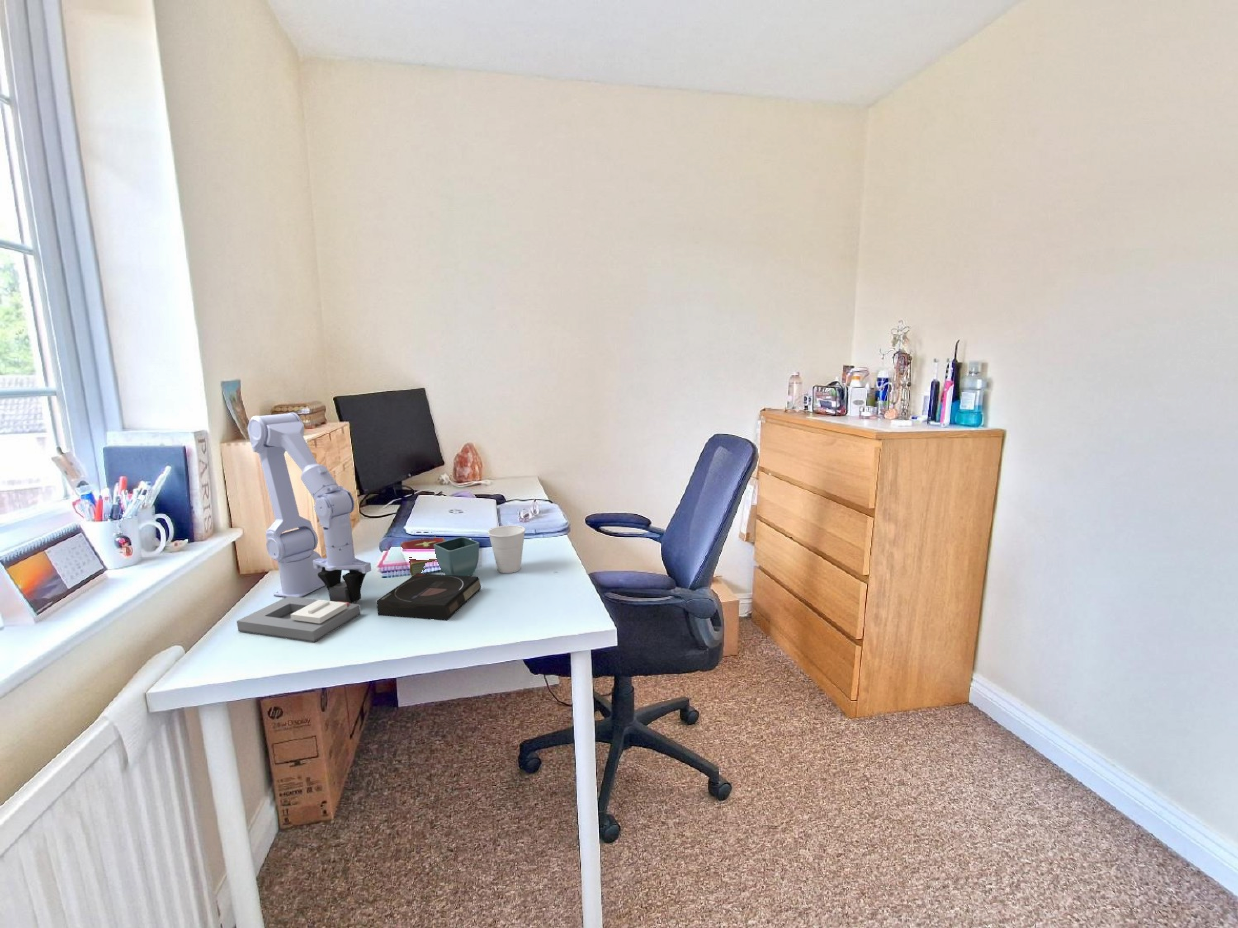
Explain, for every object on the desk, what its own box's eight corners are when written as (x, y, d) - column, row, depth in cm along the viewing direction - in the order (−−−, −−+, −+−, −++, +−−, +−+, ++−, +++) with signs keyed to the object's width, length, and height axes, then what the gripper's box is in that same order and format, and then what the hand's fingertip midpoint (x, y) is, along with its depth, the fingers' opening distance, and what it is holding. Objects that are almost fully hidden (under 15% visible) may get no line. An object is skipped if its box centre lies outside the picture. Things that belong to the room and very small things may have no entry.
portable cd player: (448, 622, 120) (447, 605, 120) (378, 617, 124) (376, 600, 123) (481, 592, 136) (480, 576, 136) (418, 588, 140) (417, 573, 139)
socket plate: (289, 605, 130) (288, 593, 129) (360, 614, 124) (359, 601, 124) (238, 631, 118) (236, 618, 117) (314, 642, 112) (312, 628, 112)
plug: (345, 599, 132) (343, 579, 132) (361, 601, 131) (359, 581, 130) (330, 608, 128) (328, 587, 127) (347, 610, 127) (344, 588, 126)
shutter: (319, 604, 124) (318, 597, 123) (347, 607, 122) (346, 600, 121) (291, 619, 117) (290, 611, 116) (320, 623, 114) (319, 615, 114)
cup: (495, 563, 154) (493, 525, 152) (531, 562, 154) (528, 524, 152) (485, 576, 145) (483, 536, 143) (523, 576, 144) (521, 535, 142)
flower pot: (435, 576, 146) (432, 543, 144) (465, 567, 152) (463, 535, 150) (451, 585, 140) (448, 551, 138) (482, 575, 146) (480, 542, 144)
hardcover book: (411, 578, 146) (409, 562, 146) (401, 554, 165) (400, 541, 164) (457, 569, 152) (456, 554, 151) (443, 547, 170) (441, 534, 169)
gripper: (299, 546, 125) (307, 603, 128) (352, 551, 121) (359, 609, 124) (323, 537, 132) (330, 591, 134) (374, 541, 128) (381, 596, 130)
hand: (345, 599), depth 129 cm, fingers open, 5 cm apart
